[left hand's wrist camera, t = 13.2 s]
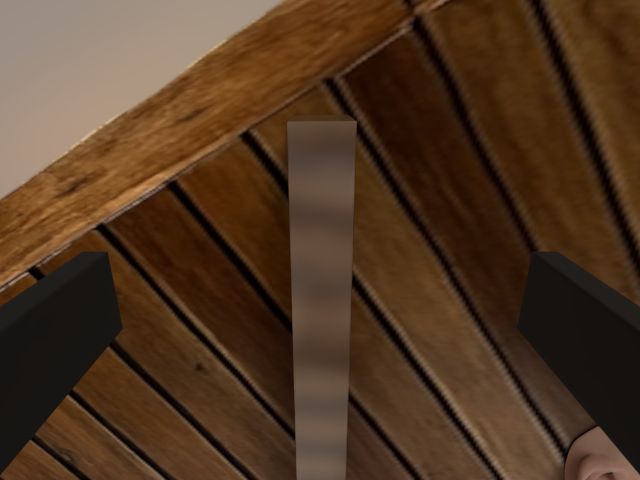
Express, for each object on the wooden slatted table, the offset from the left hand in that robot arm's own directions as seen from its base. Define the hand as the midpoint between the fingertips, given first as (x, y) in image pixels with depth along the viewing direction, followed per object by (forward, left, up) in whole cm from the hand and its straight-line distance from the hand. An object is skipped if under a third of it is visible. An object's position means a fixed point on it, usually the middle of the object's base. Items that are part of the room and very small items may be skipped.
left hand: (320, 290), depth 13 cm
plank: (-16, +11, -25) cm, 32 cm away
